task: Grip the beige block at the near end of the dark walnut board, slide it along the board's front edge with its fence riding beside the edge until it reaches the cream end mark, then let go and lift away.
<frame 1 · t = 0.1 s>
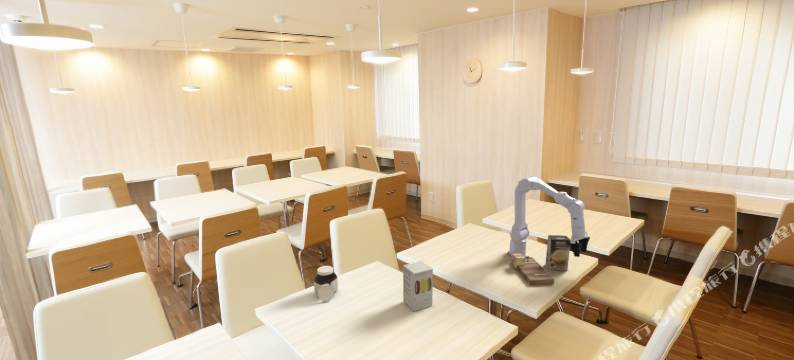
hand: (580, 254, 180), 11 cm above the table, fingers open, 7 cm apart
supplement box: (417, 304, 160), on the table
beige block: (518, 263, 190), point 2 cm above the table, touching walnut board
coffee box: (556, 267, 190), on the table
spread jar: (327, 295, 168), on the table
walnut board: (531, 272, 185), on the table
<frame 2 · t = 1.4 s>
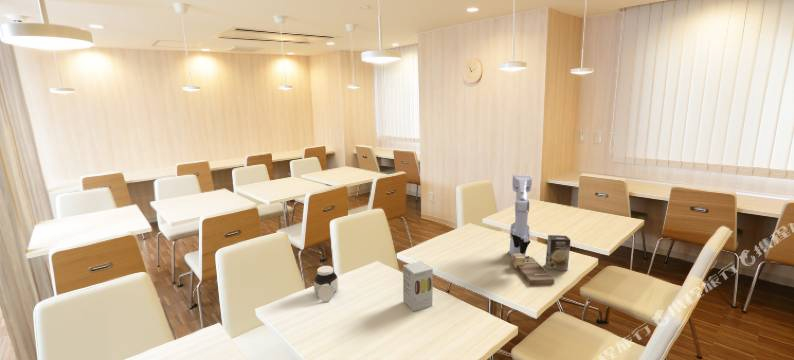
hand: (519, 250, 188), 9 cm above the table, fingers open, 7 cm apart
nothing on the table moved.
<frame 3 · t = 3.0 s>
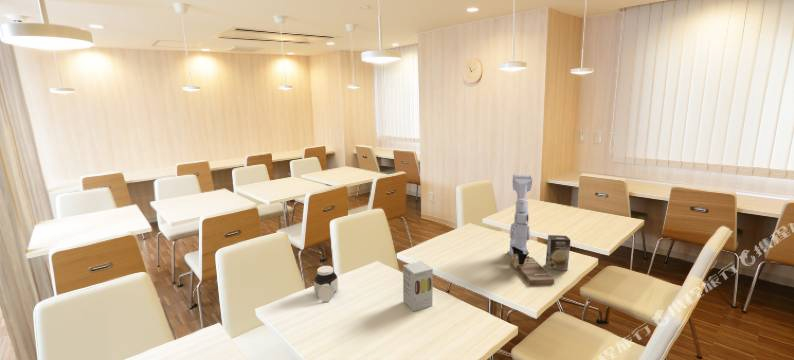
hand: (519, 261, 190), 3 cm above the table, fingers closed on beige block, 5 cm apart
beige block: (518, 263, 190), point 2 cm above the table, touching gripper, walnut board
everything else where it was.
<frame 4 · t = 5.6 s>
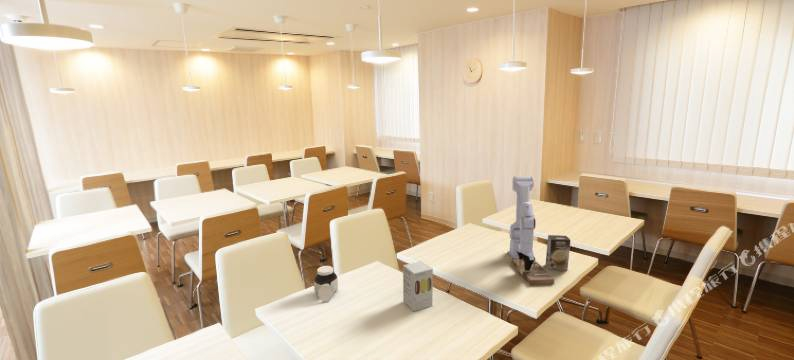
hand: (525, 267, 182), 4 cm above the table, fingers closed on beige block, 5 cm apart
beige block: (524, 269, 182), point 3 cm above the table, touching gripper
everything else where it was.
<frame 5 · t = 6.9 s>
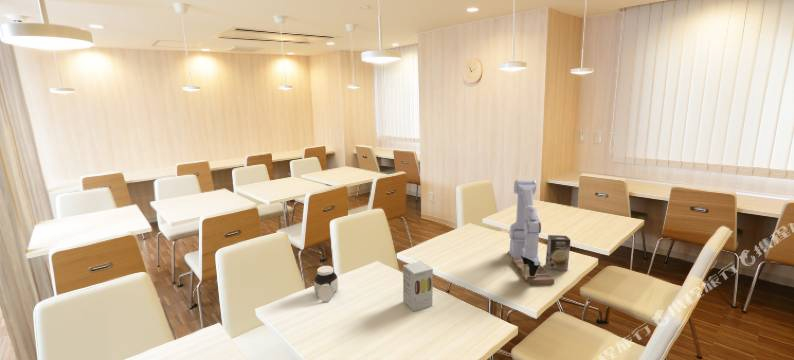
hand: (529, 273, 177), 3 cm above the table, fingers closed on beige block, 5 cm apart
beige block: (529, 274, 177), point 3 cm above the table, touching gripper
everything else where it was.
when the fingers open (3 cm above the table, at t = 8.2 s): beige block stays where it is, resting on walnut board.
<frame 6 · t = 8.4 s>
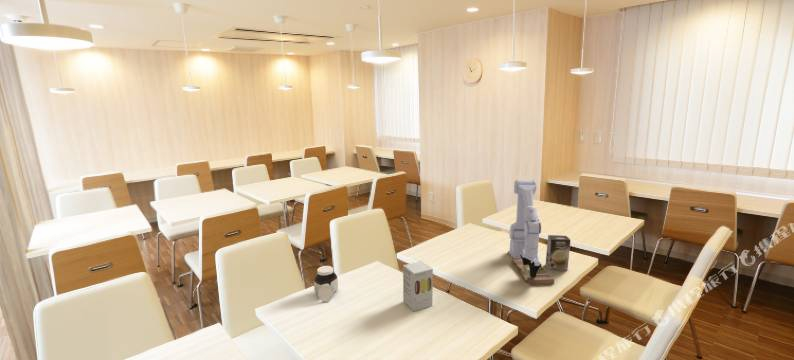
hand: (529, 273, 177), 3 cm above the table, fingers open, 7 cm apart
beige block: (529, 275, 177), point 2 cm above the table, touching walnut board
everything else where it was.
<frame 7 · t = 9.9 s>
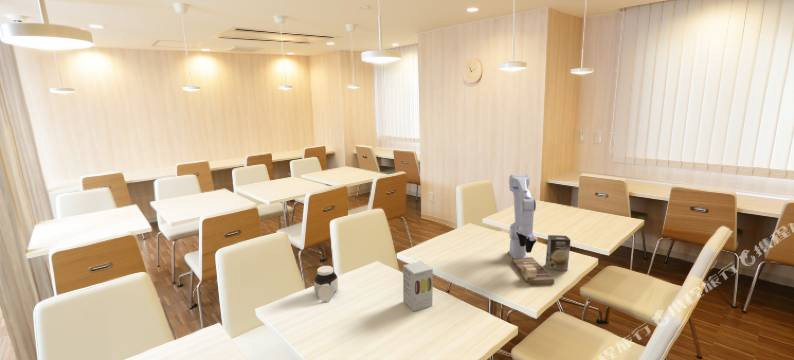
hand: (525, 249, 187), 10 cm above the table, fingers open, 7 cm apart
nothing on the table moved.
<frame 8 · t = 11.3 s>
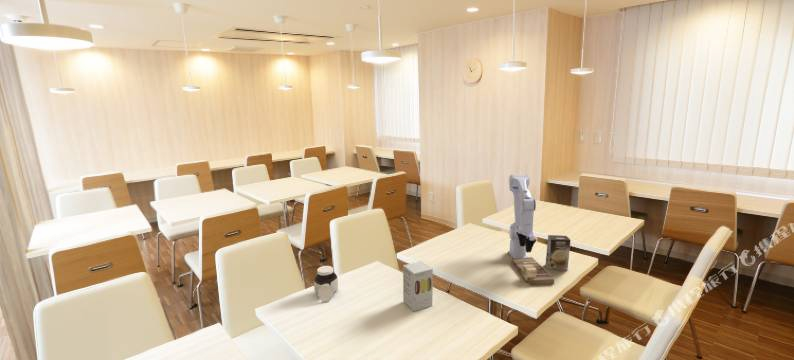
hand: (525, 249, 187), 10 cm above the table, fingers open, 7 cm apart
nothing on the table moved.
at the end: beige block 0.0 cm from the target spot, point 2.5 cm above the table; beige block tilted 0°; beige block moved 13.0 cm from its start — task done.
